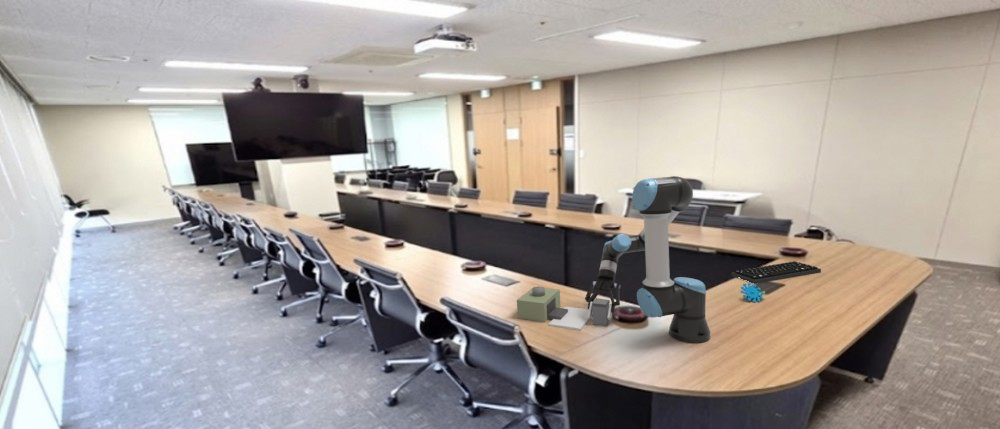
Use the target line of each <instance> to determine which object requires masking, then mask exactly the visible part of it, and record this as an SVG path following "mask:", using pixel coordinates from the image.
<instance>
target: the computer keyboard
mask: <svg viewBox="0 0 1000 429" xmlns="http://www.w3.org/2000/svg"><path fill="white" fill-rule="evenodd" d="M821 272H822V269H821V268H819V267H817V266H816V265H810V264H807V263H802V262H797V260H796V261H795V260H794V261H787V262H781V263H776V264H771V265H770V264H769V265H764V266H759V267H758V266H756V267H752V268H751V267H750V268H744V269H739V270H735V271H733V272H731V273H730V275H731V277H732V278H734V279H735V278H736V279H738V277H740V278H741V279H743V280H742V281H744V280H747V281H749V282H748V283H750V282H751V284H753V283H754V284H755V285H757V283H758V284H763V282H764V283H769V282H774V281H781V280H786V279H793V278H797V277H803V276H809V275H815V274H821ZM741 279H740V280H741ZM747 281H746V282H747ZM754 284H753V285H754Z"/></svg>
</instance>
